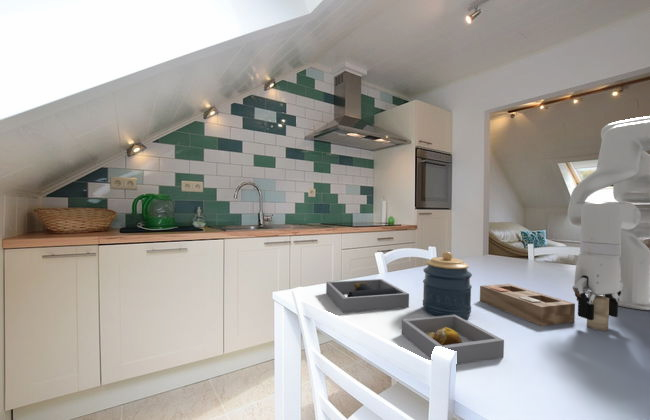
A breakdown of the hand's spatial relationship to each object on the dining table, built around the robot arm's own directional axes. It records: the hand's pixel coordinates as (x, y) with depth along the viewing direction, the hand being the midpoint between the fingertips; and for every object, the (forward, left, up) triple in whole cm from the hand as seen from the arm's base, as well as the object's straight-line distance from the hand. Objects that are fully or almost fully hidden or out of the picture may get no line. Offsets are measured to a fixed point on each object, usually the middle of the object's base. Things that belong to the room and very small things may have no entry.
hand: (597, 316), depth 73 cm
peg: (0, 0, -3) cm, 3 cm away
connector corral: (+51, -33, -3) cm, 61 cm away
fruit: (+47, -3, -3) cm, 47 cm away
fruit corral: (+45, -1, -3) cm, 45 cm away
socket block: (+8, -14, -3) cm, 16 cm away
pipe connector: (+51, -31, -3) cm, 60 cm away
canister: (+32, -18, -3) cm, 37 cm away
